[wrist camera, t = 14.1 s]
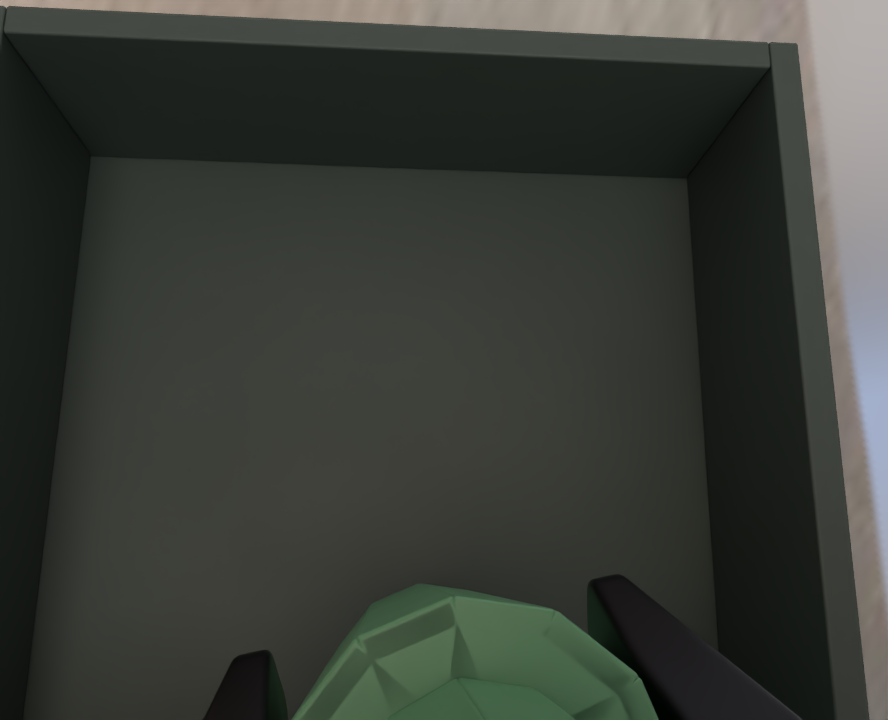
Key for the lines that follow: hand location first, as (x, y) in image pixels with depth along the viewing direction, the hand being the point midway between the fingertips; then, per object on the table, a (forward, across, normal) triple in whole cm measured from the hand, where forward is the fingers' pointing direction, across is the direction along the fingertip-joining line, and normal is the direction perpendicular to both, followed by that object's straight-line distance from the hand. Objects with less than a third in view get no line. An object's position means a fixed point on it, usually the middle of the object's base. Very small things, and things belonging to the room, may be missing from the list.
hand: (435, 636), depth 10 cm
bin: (+9, 0, +4) cm, 10 cm away
